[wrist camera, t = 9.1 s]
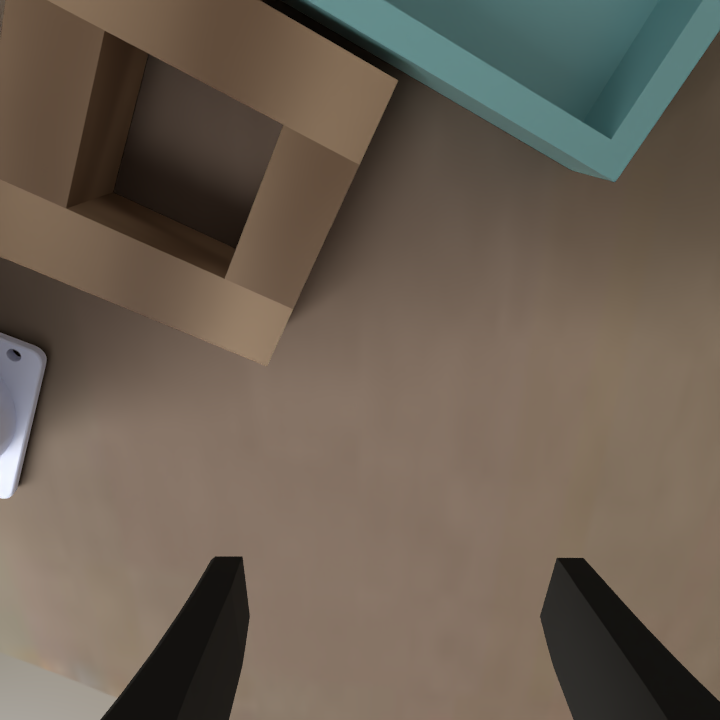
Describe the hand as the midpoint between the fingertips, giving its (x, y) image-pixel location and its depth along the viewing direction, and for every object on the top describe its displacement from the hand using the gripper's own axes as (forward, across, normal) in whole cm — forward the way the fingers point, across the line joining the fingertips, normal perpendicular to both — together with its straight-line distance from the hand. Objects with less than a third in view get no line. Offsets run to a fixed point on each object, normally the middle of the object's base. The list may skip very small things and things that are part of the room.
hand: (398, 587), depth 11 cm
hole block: (+9, +6, -8) cm, 14 cm away
